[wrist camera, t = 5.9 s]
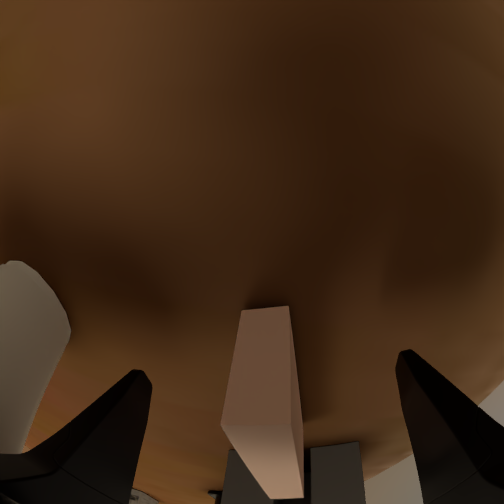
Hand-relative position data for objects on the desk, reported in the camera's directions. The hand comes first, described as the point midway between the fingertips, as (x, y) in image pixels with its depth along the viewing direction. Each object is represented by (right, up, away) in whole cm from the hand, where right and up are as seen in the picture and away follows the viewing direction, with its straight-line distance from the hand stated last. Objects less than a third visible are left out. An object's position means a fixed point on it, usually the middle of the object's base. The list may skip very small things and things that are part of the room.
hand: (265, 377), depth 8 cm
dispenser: (+3, -14, +10) cm, 18 cm away
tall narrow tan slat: (+1, -2, +4) cm, 5 cm away
